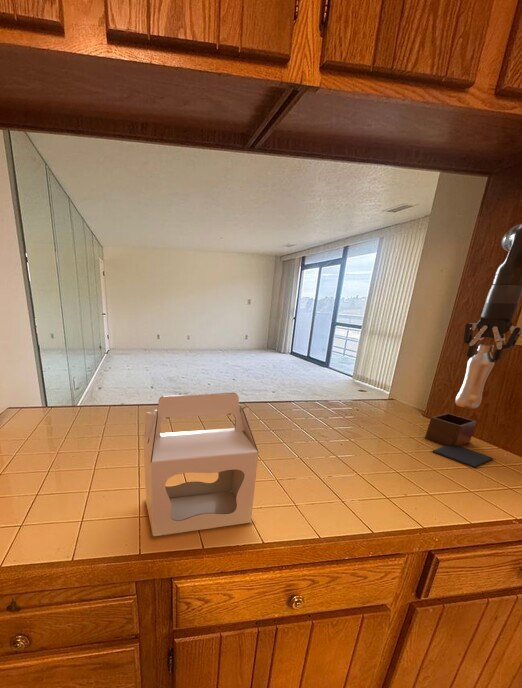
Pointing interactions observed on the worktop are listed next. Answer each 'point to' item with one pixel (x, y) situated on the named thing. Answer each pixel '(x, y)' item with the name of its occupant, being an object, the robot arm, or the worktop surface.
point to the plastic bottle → (475, 377)
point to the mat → (463, 455)
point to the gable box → (199, 466)
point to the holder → (450, 429)
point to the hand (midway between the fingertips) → (482, 359)
